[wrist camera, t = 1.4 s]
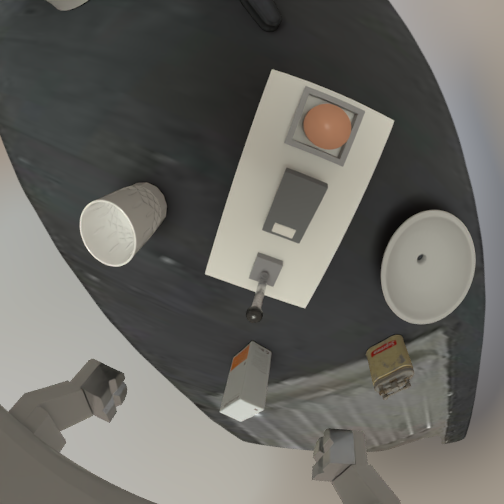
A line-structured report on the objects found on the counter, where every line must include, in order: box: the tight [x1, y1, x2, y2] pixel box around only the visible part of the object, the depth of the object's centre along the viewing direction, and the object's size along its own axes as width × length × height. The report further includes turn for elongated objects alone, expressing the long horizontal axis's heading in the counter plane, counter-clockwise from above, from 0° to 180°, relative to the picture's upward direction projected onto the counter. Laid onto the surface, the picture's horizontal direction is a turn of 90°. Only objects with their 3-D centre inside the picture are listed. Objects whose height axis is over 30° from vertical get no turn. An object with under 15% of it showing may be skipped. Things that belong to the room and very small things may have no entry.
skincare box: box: [220, 341, 272, 422], centre depth 41 cm, size 6×4×12 cm
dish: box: [381, 210, 475, 324], centre depth 32 cm, size 18×14×5 cm
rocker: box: [262, 167, 328, 244], centre depth 29 cm, size 8×4×1 cm, turn 161°
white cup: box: [80, 182, 167, 267], centre depth 32 cm, size 8×8×10 cm
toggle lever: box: [246, 273, 269, 323], centre depth 31 cm, size 2×2×7 cm
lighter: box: [366, 335, 414, 400], centre depth 38 cm, size 7×4×10 cm, turn 130°
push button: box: [303, 104, 351, 150], centre depth 24 cm, size 4×4×2 cm
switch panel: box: [205, 69, 394, 308], centre depth 31 cm, size 26×14×5 cm, turn 161°
